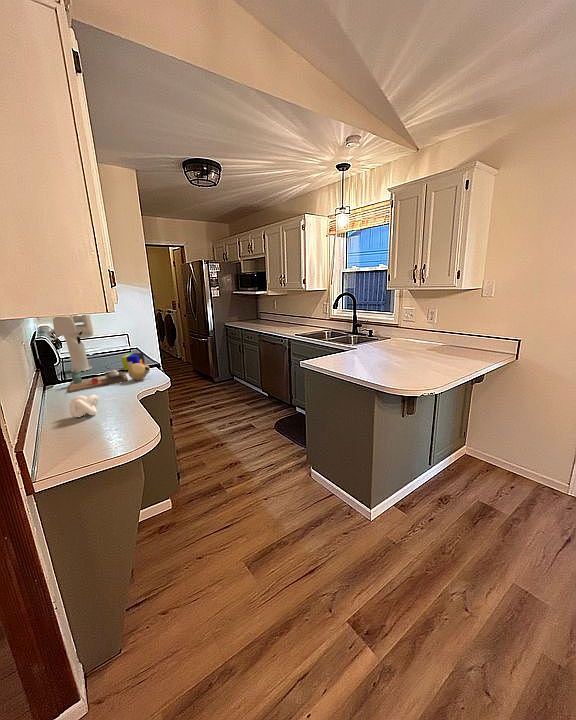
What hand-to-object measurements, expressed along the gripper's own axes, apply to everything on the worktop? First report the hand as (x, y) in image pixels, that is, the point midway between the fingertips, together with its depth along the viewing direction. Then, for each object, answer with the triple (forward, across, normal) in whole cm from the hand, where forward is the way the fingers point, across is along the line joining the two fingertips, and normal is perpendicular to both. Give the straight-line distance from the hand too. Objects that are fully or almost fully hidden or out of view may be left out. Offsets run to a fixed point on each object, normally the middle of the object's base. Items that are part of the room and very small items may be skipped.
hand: (69, 345), depth 182 cm
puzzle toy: (+25, -32, -19) cm, 46 cm away
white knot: (+27, -3, +50) cm, 56 cm away
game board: (+26, -10, -1) cm, 28 cm away
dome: (+22, -19, +3) cm, 29 cm away
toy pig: (+26, -32, +10) cm, 43 cm away
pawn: (+24, +1, -5) cm, 24 cm away
